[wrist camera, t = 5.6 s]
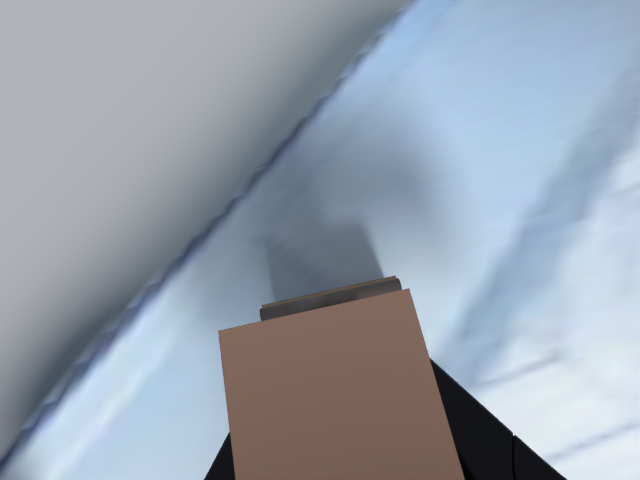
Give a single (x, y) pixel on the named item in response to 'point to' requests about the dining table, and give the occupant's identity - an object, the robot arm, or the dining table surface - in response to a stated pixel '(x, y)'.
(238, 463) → the pinkish tan rectangular block
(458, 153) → the dining table surface
